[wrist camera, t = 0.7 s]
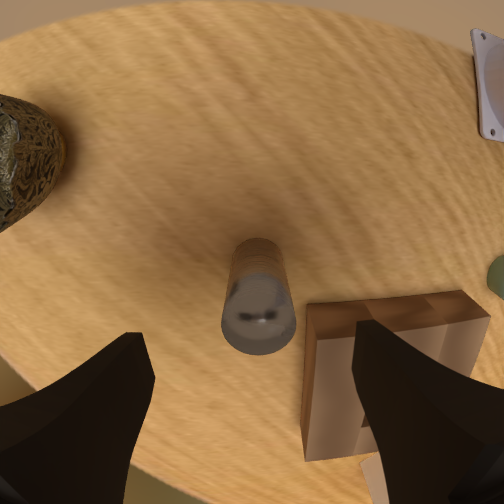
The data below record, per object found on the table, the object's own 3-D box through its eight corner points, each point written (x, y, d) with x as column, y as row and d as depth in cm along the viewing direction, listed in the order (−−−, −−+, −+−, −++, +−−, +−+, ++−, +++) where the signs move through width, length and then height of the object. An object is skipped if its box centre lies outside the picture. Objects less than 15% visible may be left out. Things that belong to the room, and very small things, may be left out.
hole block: (461, 290, 20) (491, 315, 16) (426, 405, 24) (441, 435, 20) (306, 304, 20) (317, 340, 16) (300, 425, 24) (304, 461, 20)
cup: (110, 188, 18) (30, 221, 10) (29, 222, 18) (-49, 263, 11) (81, 78, 15) (-4, 57, 8) (3, 126, 16) (-79, 135, 9)
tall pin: (282, 237, 19) (296, 290, 12) (283, 284, 20) (295, 353, 13) (230, 239, 19) (217, 294, 12) (234, 286, 20) (224, 356, 13)
